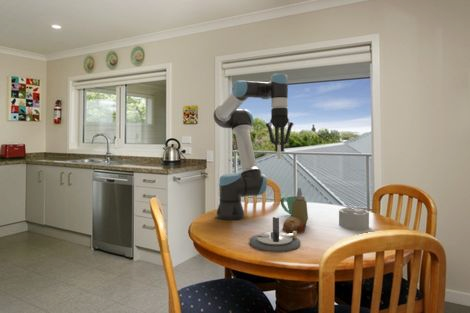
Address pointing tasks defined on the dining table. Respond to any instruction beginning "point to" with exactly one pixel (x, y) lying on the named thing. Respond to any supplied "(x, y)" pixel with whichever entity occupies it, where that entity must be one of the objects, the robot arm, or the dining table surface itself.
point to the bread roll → (293, 225)
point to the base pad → (281, 248)
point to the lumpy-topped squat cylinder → (354, 218)
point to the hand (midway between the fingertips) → (279, 158)
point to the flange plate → (270, 240)
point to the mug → (288, 203)
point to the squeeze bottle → (299, 207)
